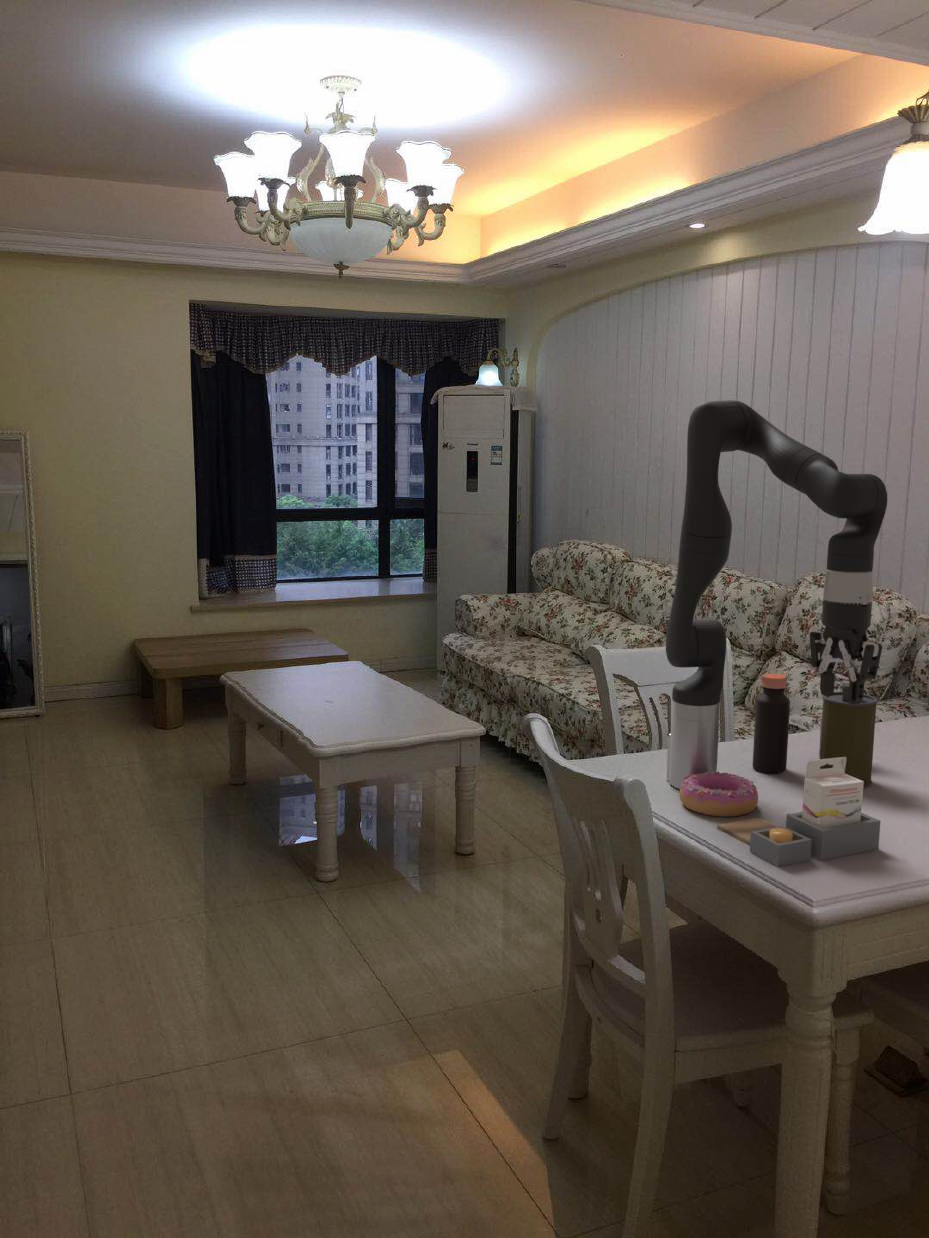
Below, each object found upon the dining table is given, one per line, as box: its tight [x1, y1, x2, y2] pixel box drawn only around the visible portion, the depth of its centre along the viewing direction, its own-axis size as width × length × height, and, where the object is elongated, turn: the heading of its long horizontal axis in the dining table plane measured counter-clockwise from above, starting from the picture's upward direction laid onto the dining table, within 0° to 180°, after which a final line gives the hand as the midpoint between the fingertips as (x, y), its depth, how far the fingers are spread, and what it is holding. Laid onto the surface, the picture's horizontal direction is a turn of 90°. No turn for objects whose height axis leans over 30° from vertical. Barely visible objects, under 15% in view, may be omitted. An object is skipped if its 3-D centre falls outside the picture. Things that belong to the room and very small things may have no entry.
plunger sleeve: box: [749, 825, 812, 868], centre depth 170 cm, size 7×7×4 cm
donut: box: [679, 771, 759, 818], centre depth 194 cm, size 14×14×5 cm
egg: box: [769, 828, 793, 843], centre depth 170 cm, size 4×4×4 cm
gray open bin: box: [785, 811, 881, 862], centre depth 174 cm, size 8×12×5 cm
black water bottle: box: [752, 673, 791, 775], centre depth 215 cm, size 7×7×20 cm
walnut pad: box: [716, 817, 777, 846], centre depth 181 cm, size 9×9×1 cm
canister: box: [819, 682, 879, 789], centre depth 208 cm, size 11×10×20 cm
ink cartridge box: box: [801, 757, 864, 828], centre depth 174 cm, size 9×5×15 cm, turn 111°
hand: (840, 698), depth 171 cm, fingers open, 5 cm apart
